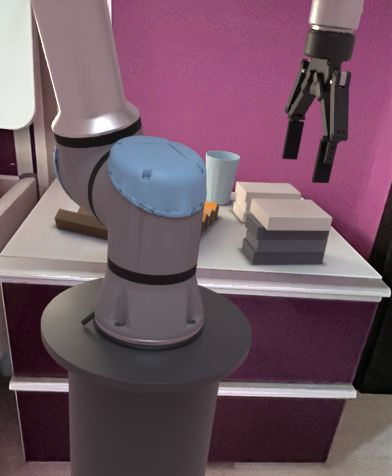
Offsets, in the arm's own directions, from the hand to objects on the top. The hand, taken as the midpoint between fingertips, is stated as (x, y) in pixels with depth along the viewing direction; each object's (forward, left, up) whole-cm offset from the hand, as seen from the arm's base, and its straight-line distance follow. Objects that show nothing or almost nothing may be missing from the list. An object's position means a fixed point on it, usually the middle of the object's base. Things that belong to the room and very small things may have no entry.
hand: (303, 170), depth 97 cm
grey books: (-1, +1, -17) cm, 17 cm away
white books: (+3, +22, -17) cm, 27 cm away
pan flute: (-25, +18, -17) cm, 35 cm away
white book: (-1, +1, -9) cm, 9 cm away
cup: (-5, +32, -17) cm, 36 cm away
